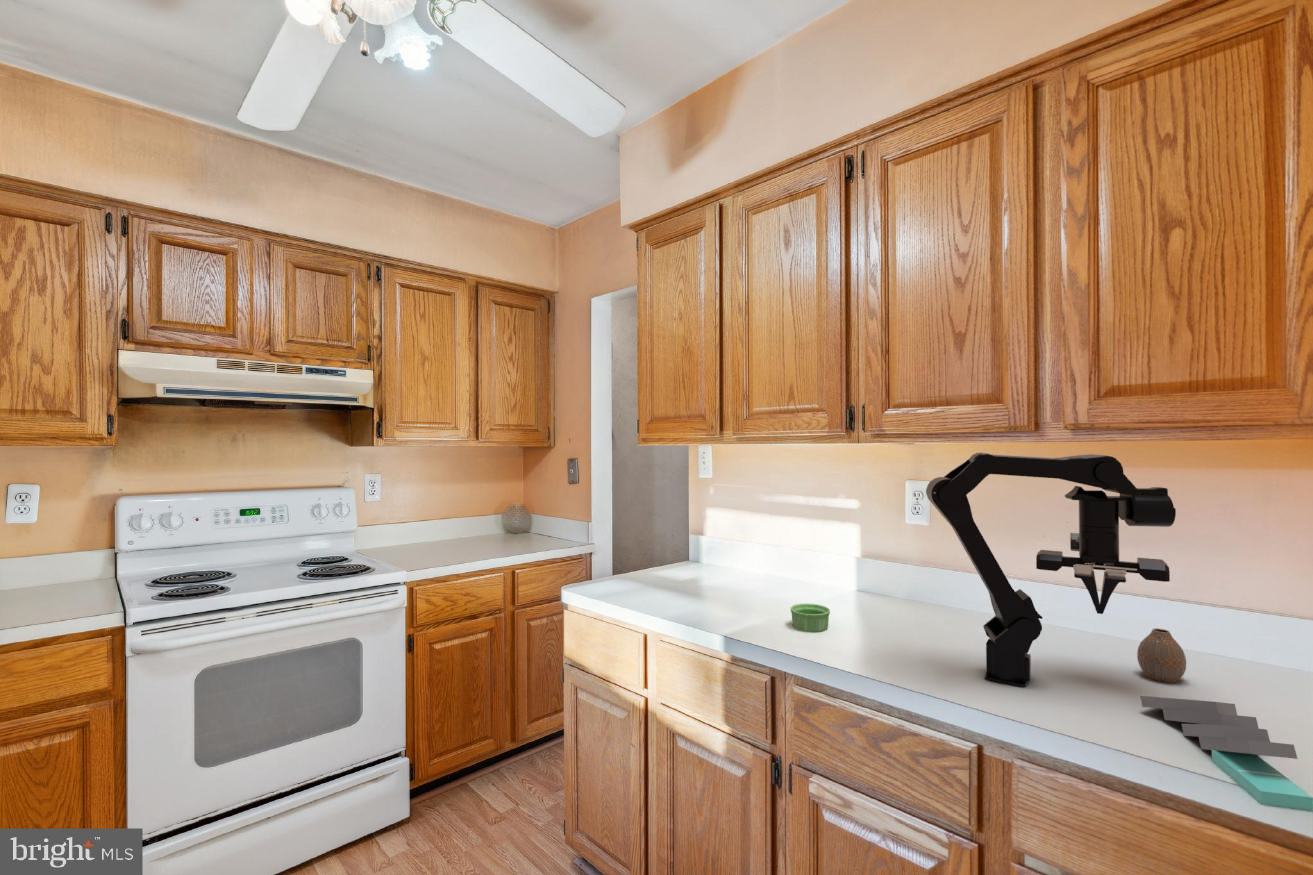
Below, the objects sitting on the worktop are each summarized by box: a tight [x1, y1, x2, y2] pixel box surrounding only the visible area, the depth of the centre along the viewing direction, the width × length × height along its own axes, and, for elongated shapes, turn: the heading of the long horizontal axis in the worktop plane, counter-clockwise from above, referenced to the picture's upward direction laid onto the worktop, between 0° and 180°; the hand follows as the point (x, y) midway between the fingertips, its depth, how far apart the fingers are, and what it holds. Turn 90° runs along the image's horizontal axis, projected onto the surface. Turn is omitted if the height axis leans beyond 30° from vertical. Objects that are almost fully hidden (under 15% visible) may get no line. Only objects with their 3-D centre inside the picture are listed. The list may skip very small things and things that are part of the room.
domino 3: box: [1181, 723, 1271, 742], centre depth 85 cm, size 2×5×10 cm
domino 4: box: [1197, 736, 1298, 760], centre depth 81 cm, size 2×5×10 cm
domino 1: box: [1140, 695, 1238, 715], centre depth 94 cm, size 2×5×10 cm
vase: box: [1136, 627, 1187, 683], centre depth 111 cm, size 7×7×9 cm
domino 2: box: [1162, 709, 1260, 729], centre depth 89 cm, size 2×5×10 cm
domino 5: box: [1211, 750, 1313, 812], centre depth 77 cm, size 2×5×10 cm
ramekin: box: [790, 603, 831, 633], centre depth 142 cm, size 9×9×4 cm
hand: (1099, 613), depth 107 cm, fingers closed
